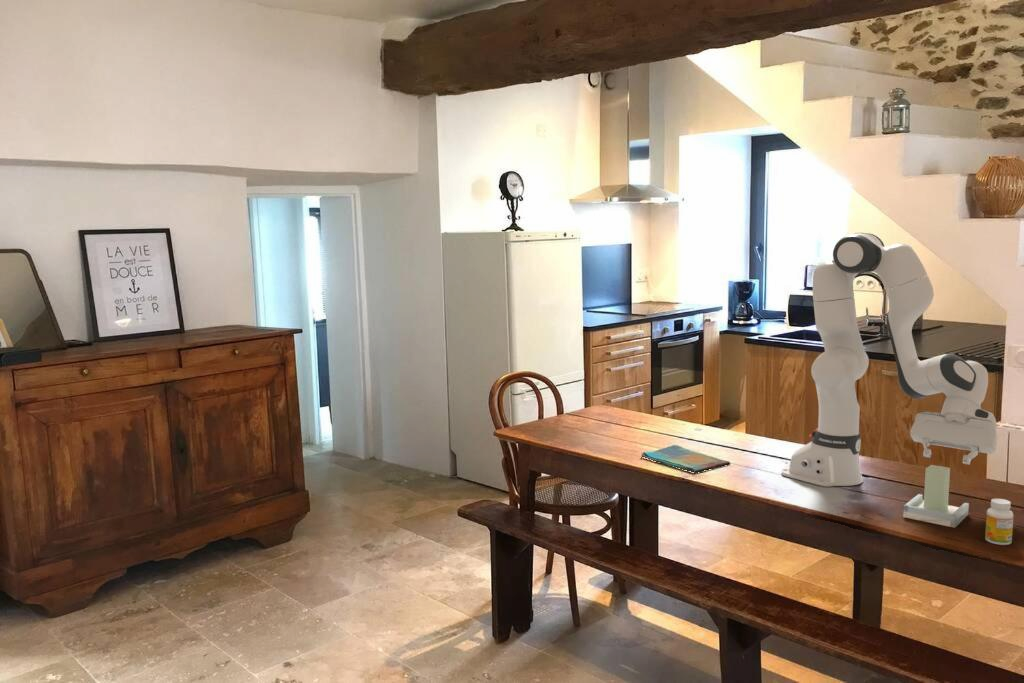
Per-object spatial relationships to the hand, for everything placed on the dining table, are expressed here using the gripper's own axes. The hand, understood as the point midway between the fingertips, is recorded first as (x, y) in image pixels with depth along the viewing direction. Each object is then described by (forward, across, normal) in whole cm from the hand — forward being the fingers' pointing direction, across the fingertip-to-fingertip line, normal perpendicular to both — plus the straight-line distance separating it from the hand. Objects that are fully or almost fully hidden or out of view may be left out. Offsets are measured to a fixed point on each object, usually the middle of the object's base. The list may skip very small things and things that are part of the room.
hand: (945, 459), depth 215 cm
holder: (+15, +1, +4) cm, 15 cm away
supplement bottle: (+21, +17, -2) cm, 27 cm away
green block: (+14, 0, +3) cm, 14 cm away
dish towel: (+14, -75, +7) cm, 76 cm away
